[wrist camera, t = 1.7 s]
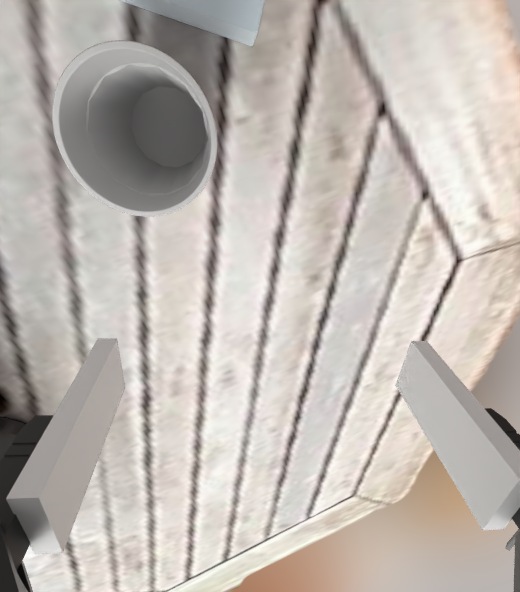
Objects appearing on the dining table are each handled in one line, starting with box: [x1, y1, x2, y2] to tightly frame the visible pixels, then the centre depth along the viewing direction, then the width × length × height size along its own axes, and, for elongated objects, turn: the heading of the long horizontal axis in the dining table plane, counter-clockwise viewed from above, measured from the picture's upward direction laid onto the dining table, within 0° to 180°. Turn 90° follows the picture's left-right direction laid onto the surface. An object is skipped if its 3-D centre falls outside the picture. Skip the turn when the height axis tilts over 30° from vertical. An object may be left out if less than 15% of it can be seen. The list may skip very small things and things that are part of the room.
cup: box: [52, 40, 217, 217], centre depth 22 cm, size 8×8×12 cm
